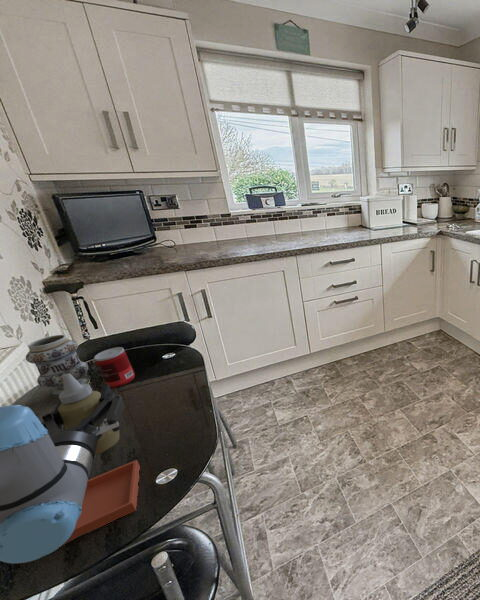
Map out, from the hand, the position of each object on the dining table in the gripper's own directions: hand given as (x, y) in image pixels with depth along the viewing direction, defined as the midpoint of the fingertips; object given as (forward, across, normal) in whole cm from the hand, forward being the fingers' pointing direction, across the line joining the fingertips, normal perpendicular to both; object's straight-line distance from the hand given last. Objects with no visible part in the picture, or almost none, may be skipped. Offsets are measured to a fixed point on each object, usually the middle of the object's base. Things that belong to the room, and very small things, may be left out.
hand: (87, 396), depth 71 cm
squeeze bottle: (-5, 0, -10) cm, 11 cm away
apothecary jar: (+51, -17, -18) cm, 57 cm away
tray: (-13, -2, -18) cm, 22 cm away
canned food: (+44, -3, -18) cm, 48 cm away
